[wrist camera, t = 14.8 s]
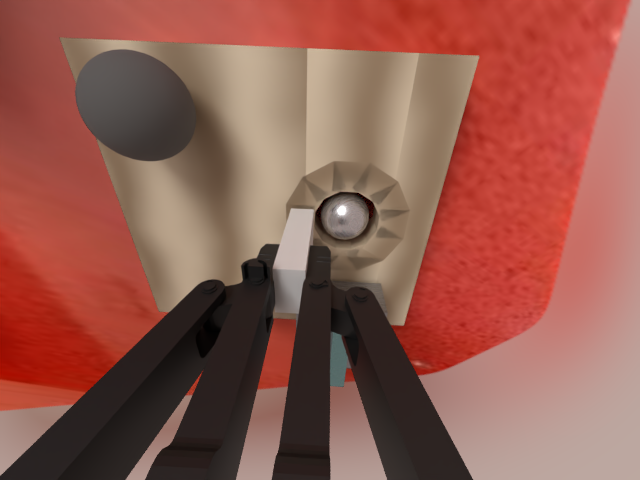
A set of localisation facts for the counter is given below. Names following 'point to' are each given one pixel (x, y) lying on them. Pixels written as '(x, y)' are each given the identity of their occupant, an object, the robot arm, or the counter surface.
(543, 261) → the counter surface
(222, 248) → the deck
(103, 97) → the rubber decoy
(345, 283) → the cover
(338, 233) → the steel ball
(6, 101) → the counter surface
